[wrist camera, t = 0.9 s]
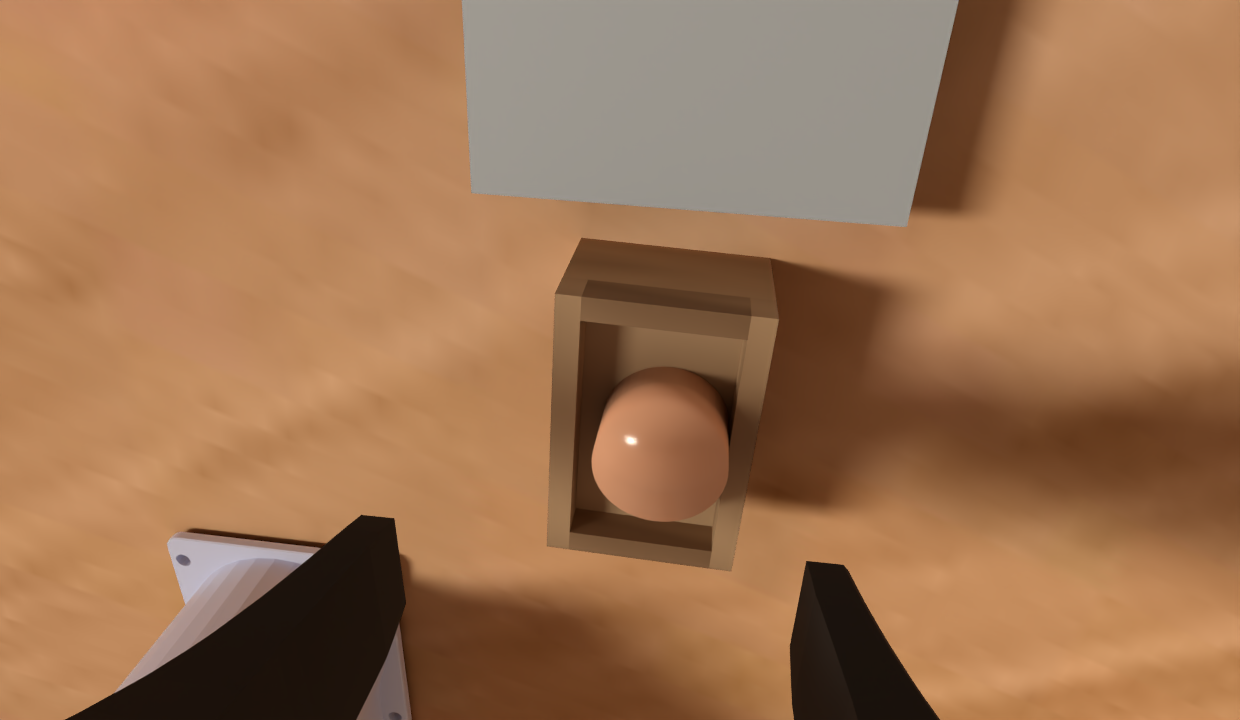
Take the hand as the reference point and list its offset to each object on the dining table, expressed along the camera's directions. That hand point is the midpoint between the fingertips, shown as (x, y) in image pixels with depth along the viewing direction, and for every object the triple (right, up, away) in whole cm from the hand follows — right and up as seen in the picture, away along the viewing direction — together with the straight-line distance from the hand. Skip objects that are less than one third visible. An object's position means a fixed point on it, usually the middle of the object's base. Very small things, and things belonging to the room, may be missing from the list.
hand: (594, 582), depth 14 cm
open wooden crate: (+2, +4, +9) cm, 10 cm away
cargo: (+2, +2, +6) cm, 7 cm away
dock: (+2, +12, +4) cm, 13 cm away
